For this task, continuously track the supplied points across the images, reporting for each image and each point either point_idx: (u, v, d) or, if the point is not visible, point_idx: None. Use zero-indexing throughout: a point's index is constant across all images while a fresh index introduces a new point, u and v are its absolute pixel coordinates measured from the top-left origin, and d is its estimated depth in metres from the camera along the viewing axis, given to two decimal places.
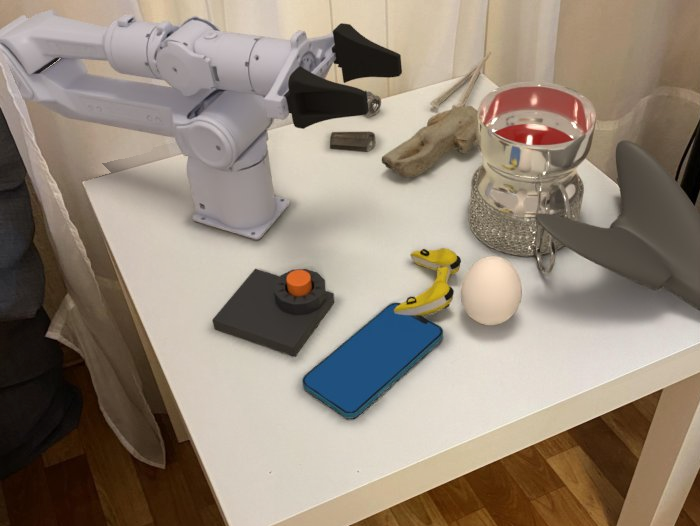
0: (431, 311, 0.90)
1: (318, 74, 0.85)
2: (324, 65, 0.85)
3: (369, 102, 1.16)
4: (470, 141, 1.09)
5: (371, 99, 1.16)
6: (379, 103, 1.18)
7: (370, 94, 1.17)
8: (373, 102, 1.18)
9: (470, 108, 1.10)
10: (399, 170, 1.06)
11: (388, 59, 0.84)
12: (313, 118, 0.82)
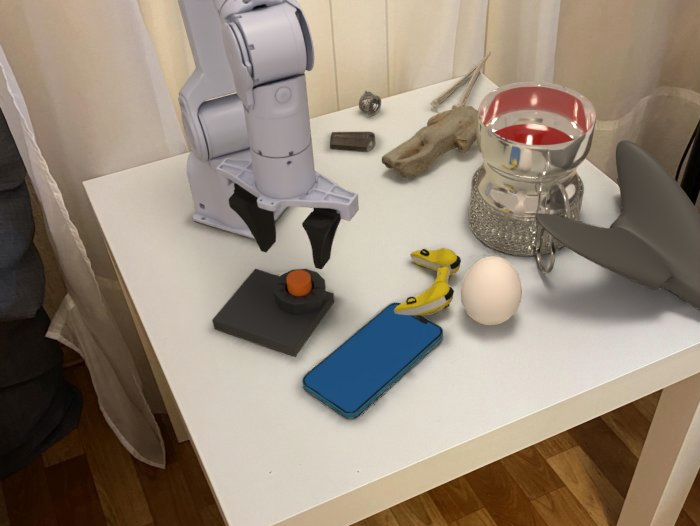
0: (431, 311, 0.90)
1: None
2: None
3: (369, 102, 1.16)
4: (470, 141, 1.09)
5: (371, 99, 1.16)
6: (379, 103, 1.18)
7: (370, 94, 1.17)
8: (373, 102, 1.18)
9: (470, 108, 1.10)
10: (399, 170, 1.06)
11: None
12: None
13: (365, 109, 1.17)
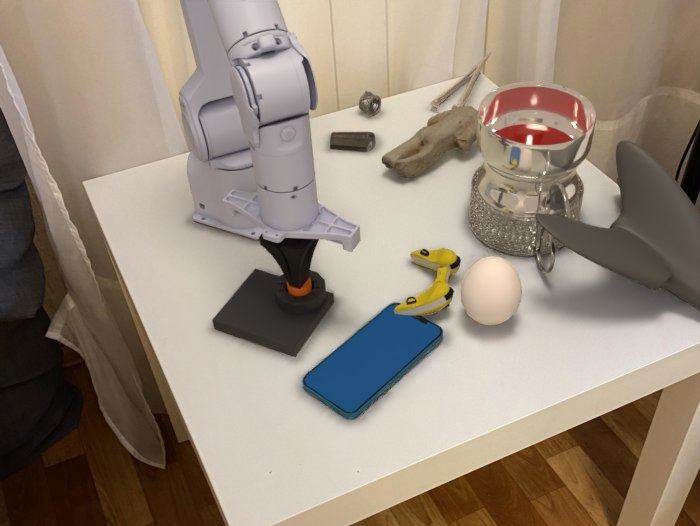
0: (431, 311, 0.90)
1: None
2: None
3: (369, 102, 1.16)
4: (470, 141, 1.09)
5: (371, 99, 1.16)
6: (379, 103, 1.18)
7: (370, 94, 1.17)
8: (373, 102, 1.18)
9: (470, 108, 1.10)
10: (399, 170, 1.06)
11: None
12: None
13: (365, 109, 1.17)
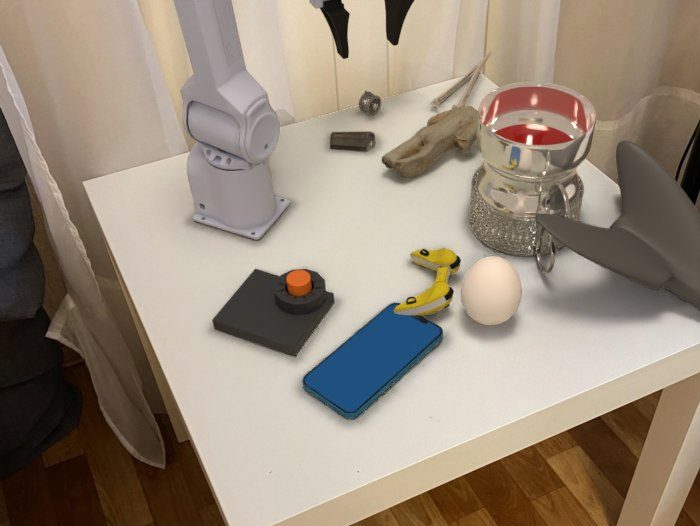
0: (431, 311, 0.90)
1: None
2: None
3: (369, 102, 1.16)
4: (470, 141, 1.09)
5: (371, 99, 1.16)
6: (379, 103, 1.18)
7: (370, 94, 1.17)
8: (373, 102, 1.18)
9: (470, 108, 1.10)
10: (399, 170, 1.06)
11: (392, 37, 1.11)
12: (324, 14, 1.07)
13: (365, 109, 1.17)
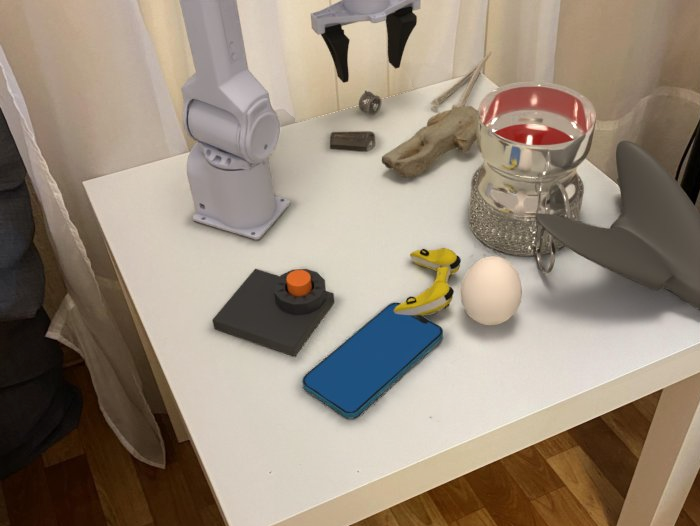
0: (431, 311, 0.90)
1: None
2: None
3: (369, 102, 1.16)
4: (470, 141, 1.09)
5: (371, 99, 1.16)
6: (379, 103, 1.18)
7: (370, 94, 1.17)
8: (373, 102, 1.18)
9: (470, 108, 1.10)
10: (399, 170, 1.06)
11: (394, 60, 1.14)
12: (324, 39, 1.09)
13: (365, 109, 1.17)
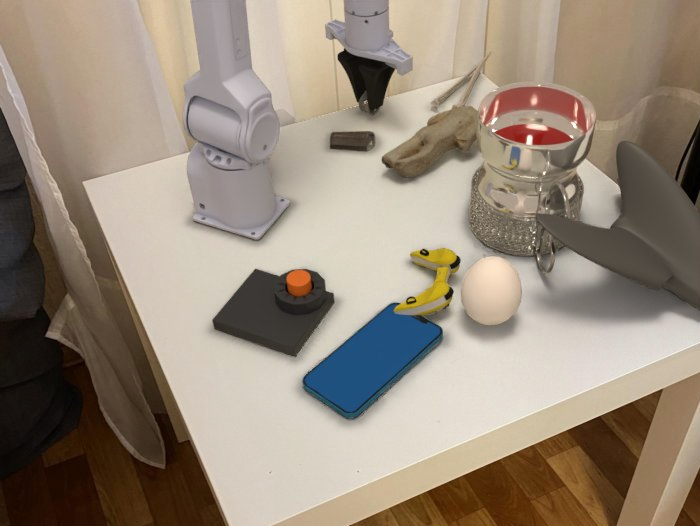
0: (431, 311, 0.90)
1: None
2: None
3: None
4: (470, 141, 1.09)
5: None
6: None
7: None
8: None
9: (470, 108, 1.10)
10: (399, 170, 1.06)
11: None
12: (375, 80, 1.11)
13: (365, 109, 1.17)
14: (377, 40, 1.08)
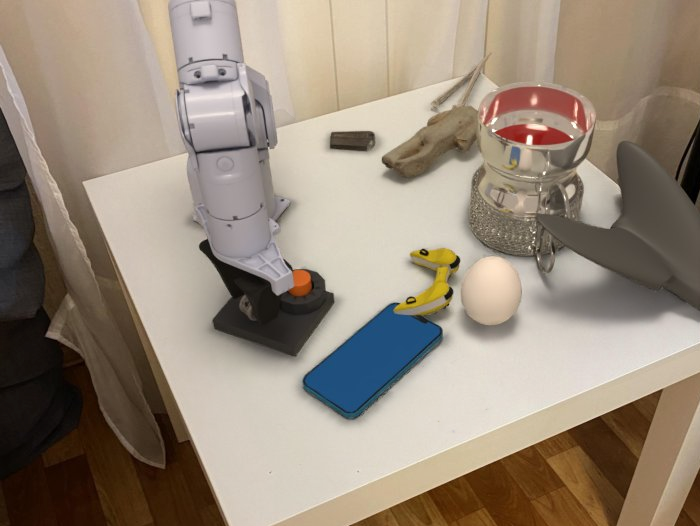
0: (431, 311, 0.90)
1: None
2: None
3: (251, 307, 0.88)
4: (470, 141, 1.09)
5: None
6: None
7: None
8: None
9: (470, 108, 1.10)
10: (399, 170, 1.06)
11: None
12: (258, 298, 0.83)
13: (246, 314, 0.89)
14: (248, 246, 0.80)
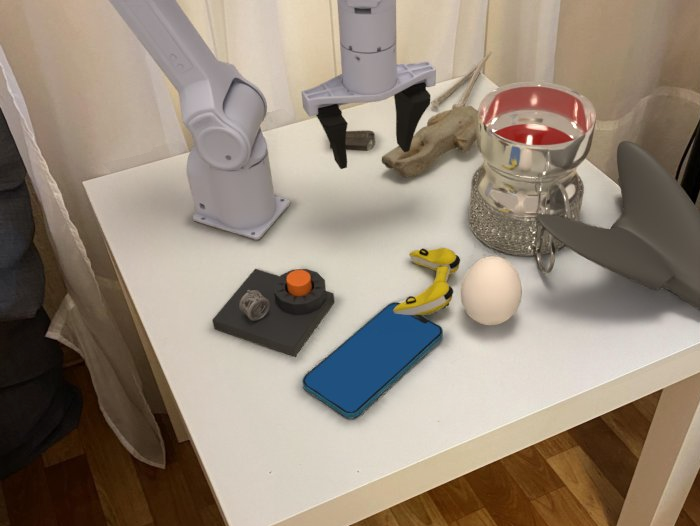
0: (431, 311, 0.90)
1: None
2: None
3: (250, 307, 0.88)
4: (470, 141, 1.09)
5: (253, 303, 0.88)
6: (267, 305, 0.90)
7: (254, 295, 0.89)
8: (261, 302, 0.91)
9: (470, 108, 1.10)
10: (399, 170, 1.06)
11: None
12: None
13: (246, 314, 0.89)
14: (396, 67, 0.88)
